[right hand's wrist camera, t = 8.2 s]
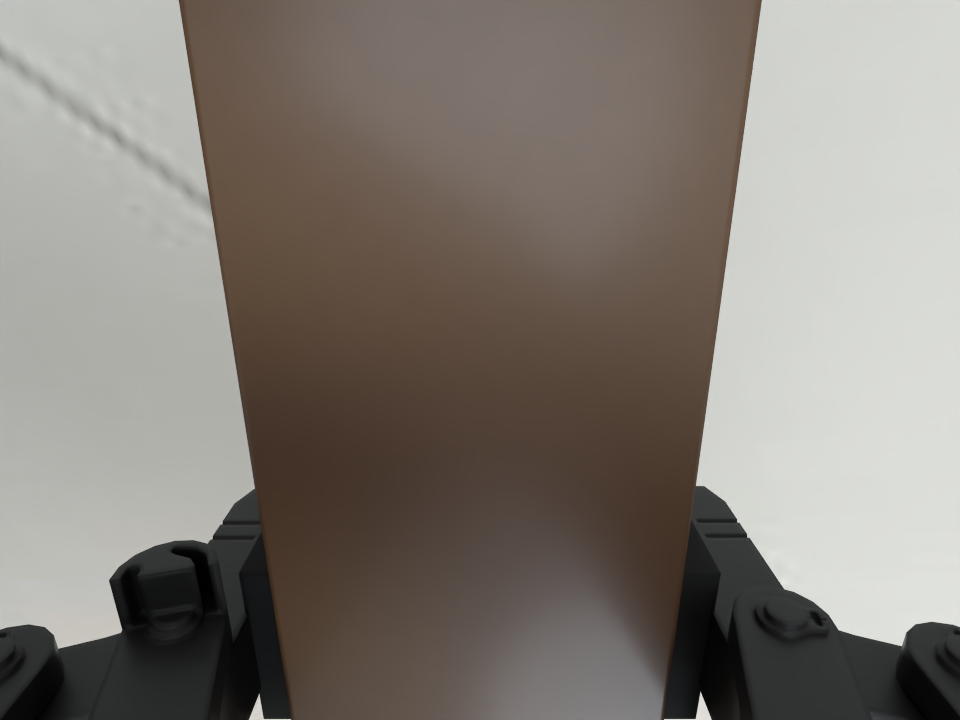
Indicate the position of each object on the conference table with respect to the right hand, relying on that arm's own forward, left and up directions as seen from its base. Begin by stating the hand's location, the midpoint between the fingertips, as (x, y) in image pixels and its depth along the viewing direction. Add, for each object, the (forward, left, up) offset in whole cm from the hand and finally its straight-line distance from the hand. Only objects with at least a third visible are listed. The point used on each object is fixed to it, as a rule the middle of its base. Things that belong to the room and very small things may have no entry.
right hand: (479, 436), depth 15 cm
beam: (+3, +25, -1) cm, 25 cm away
